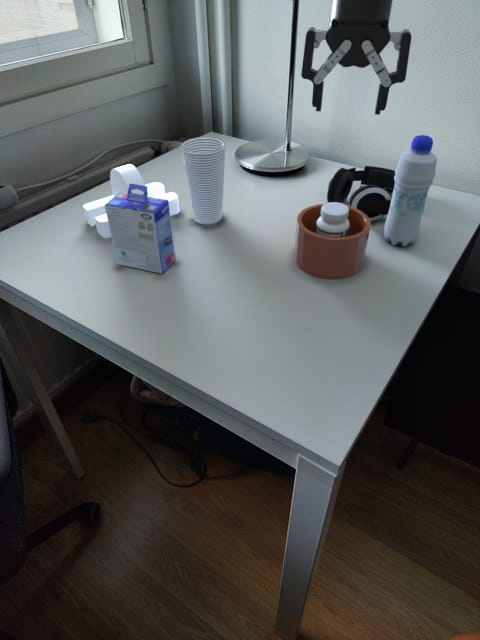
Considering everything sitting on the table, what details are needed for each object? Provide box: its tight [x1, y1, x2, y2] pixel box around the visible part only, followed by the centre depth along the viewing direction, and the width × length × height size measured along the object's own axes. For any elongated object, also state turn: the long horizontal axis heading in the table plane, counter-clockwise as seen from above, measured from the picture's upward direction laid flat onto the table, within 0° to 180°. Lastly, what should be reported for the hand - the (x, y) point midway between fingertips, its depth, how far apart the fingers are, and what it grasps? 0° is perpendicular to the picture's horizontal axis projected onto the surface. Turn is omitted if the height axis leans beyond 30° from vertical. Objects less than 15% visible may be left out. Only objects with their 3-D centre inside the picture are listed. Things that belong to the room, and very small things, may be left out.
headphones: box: [326, 165, 395, 223], centre depth 99 cm, size 18×8×20 cm
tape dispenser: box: [82, 163, 181, 239], centre depth 95 cm, size 10×18×11 cm, turn 127°
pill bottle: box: [316, 202, 350, 238], centre depth 82 cm, size 6×6×10 cm
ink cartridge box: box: [105, 184, 176, 274], centre depth 81 cm, size 10×6×14 cm, turn 70°
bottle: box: [383, 134, 438, 247], centre depth 83 cm, size 7×7×20 cm
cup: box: [180, 136, 226, 225], centre depth 93 cm, size 8×8×16 cm
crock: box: [293, 203, 371, 280], centre depth 83 cm, size 13×13×8 cm
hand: (347, 111), depth 68 cm, fingers open, 8 cm apart
